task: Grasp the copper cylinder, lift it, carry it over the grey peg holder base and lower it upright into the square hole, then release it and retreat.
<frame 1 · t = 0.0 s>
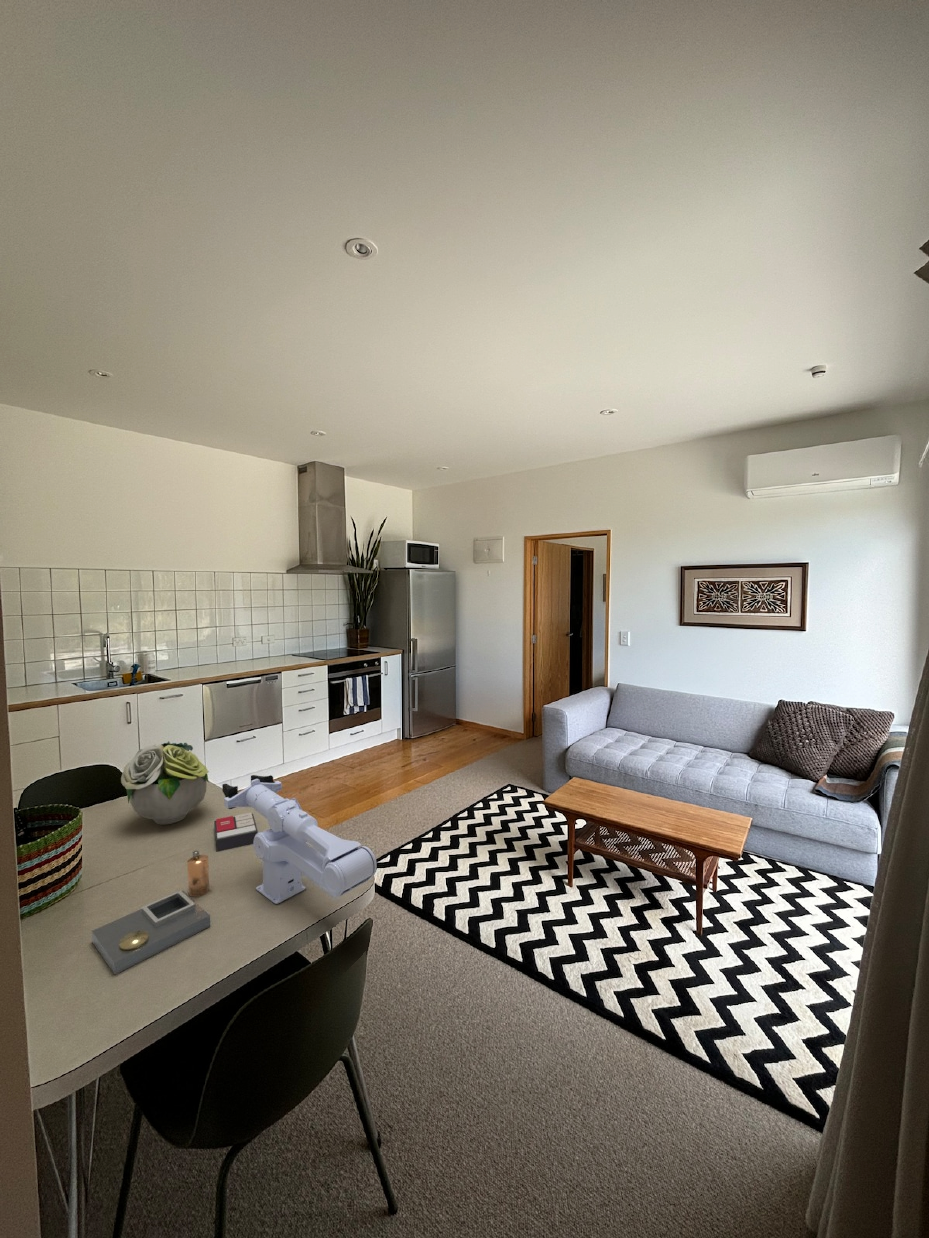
hand: (238, 783, 136), 22 cm above the table, tool horizontal, fingers open, 7 cm apart
grey peg holder base: (169, 920, 114), on the table
flower arrangement: (171, 819, 162), on the table
copper cylinder: (199, 891, 124), on the table
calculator: (235, 837, 152), on the table
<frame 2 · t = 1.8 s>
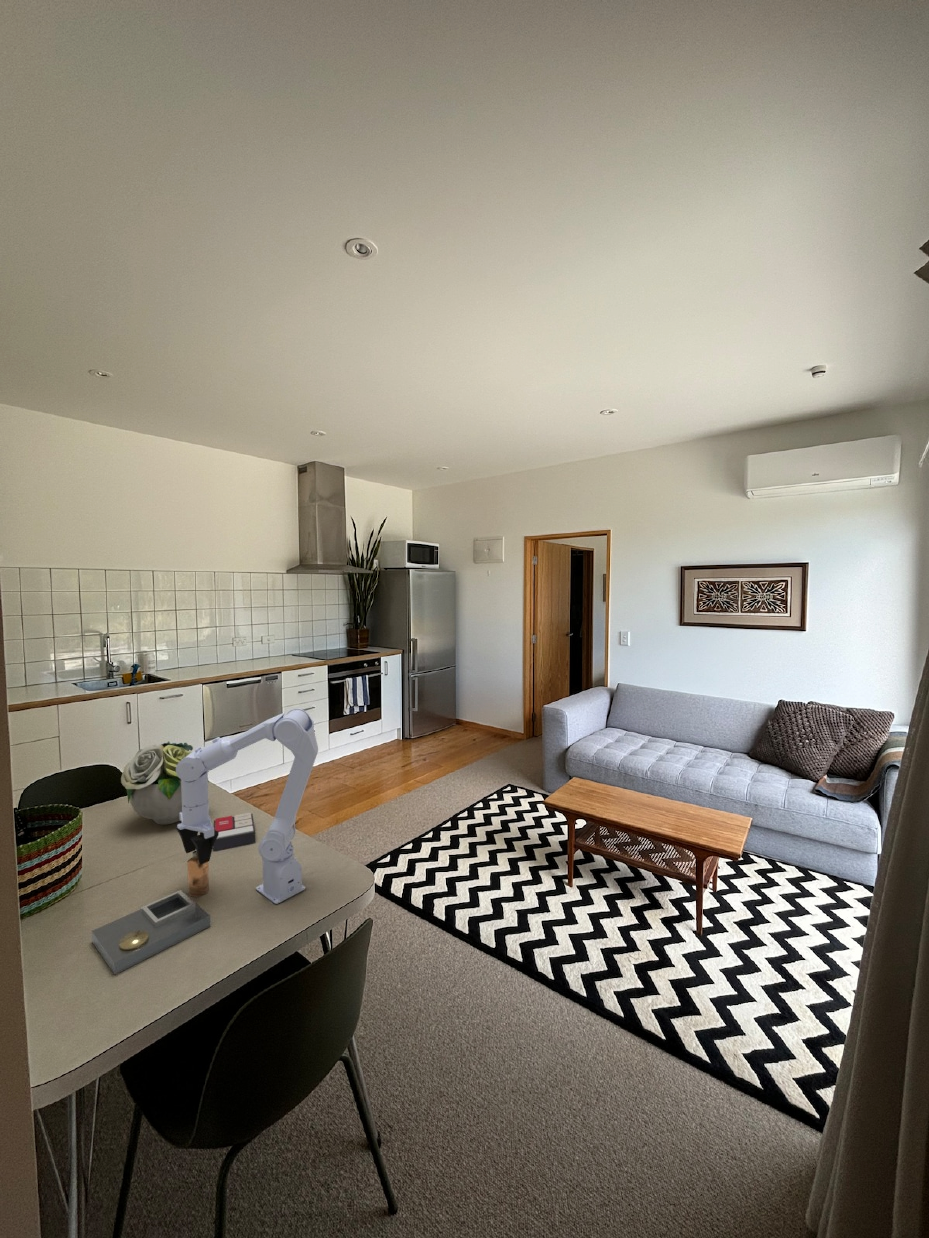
hand: (197, 856, 124), 9 cm above the table, tool pointing down, fingers open, 7 cm apart
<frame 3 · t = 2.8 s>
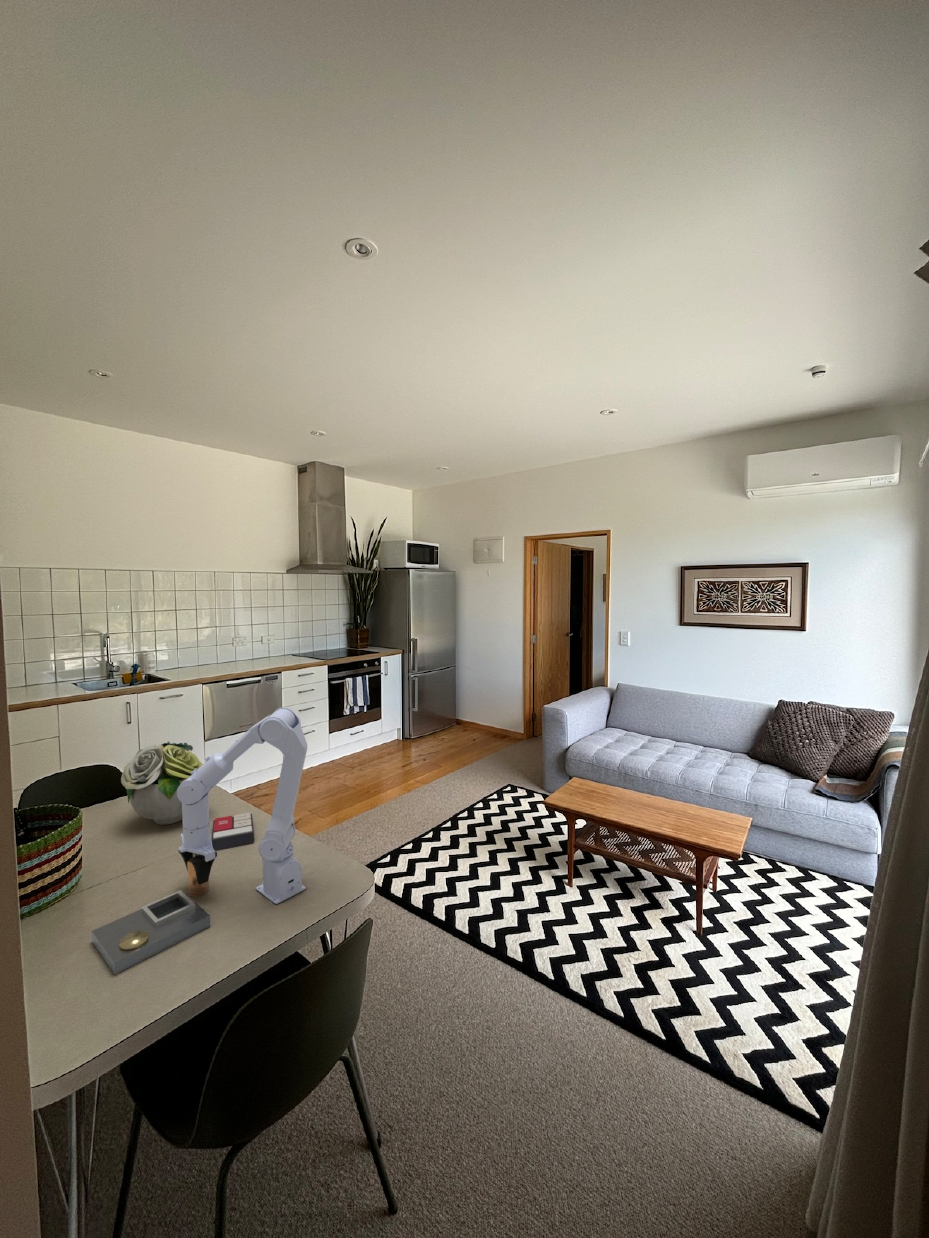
hand: (198, 878, 124), 3 cm above the table, tool pointing down, fingers closed on copper cylinder, 4 cm apart
copper cylinder: (199, 891, 124), on the table, touching gripper
everything else where it was.
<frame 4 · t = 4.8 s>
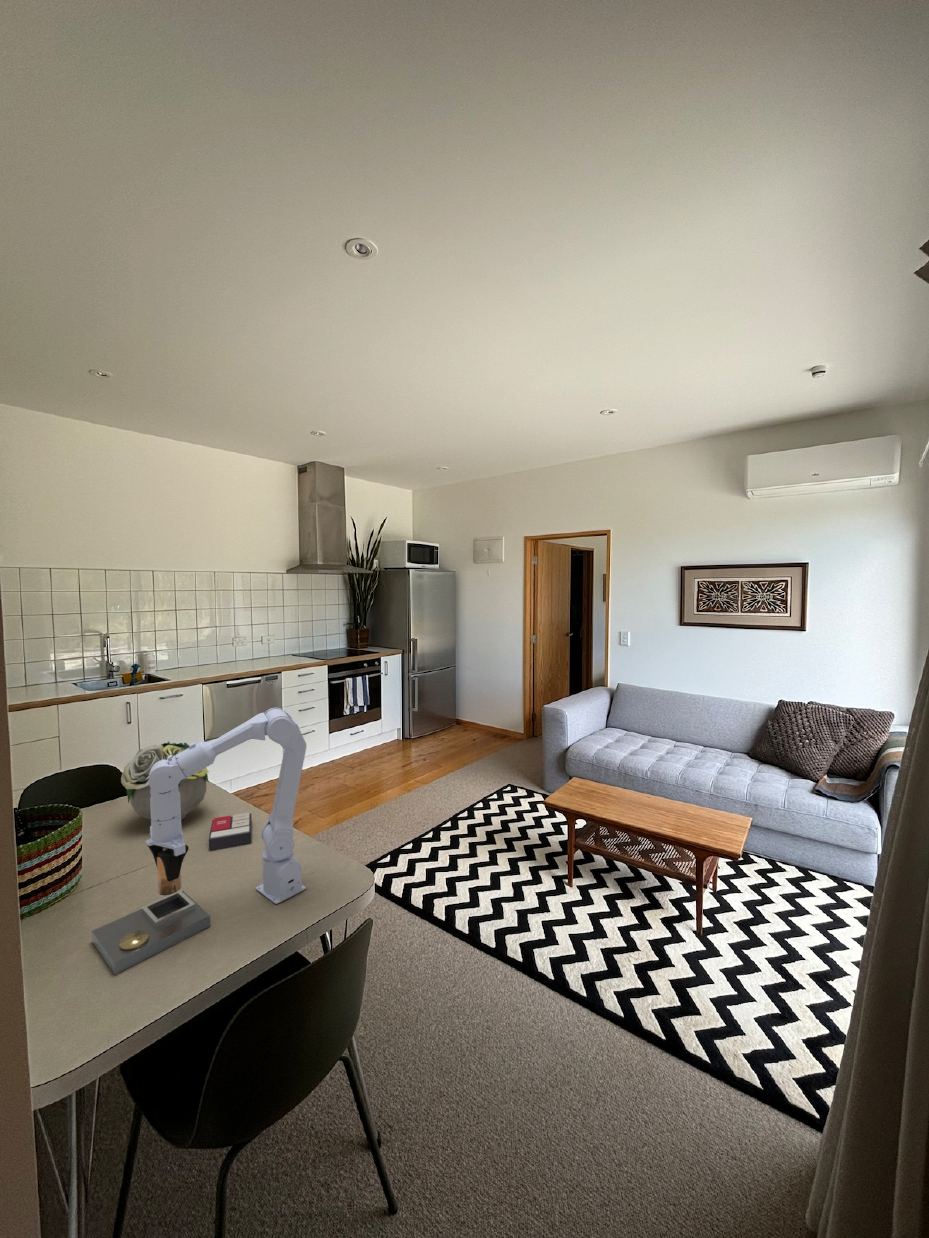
hand: (168, 874, 114), 10 cm above the table, tool pointing down, fingers closed on copper cylinder, 4 cm apart
copper cylinder: (169, 889, 114), point 7 cm above the table, touching gripper
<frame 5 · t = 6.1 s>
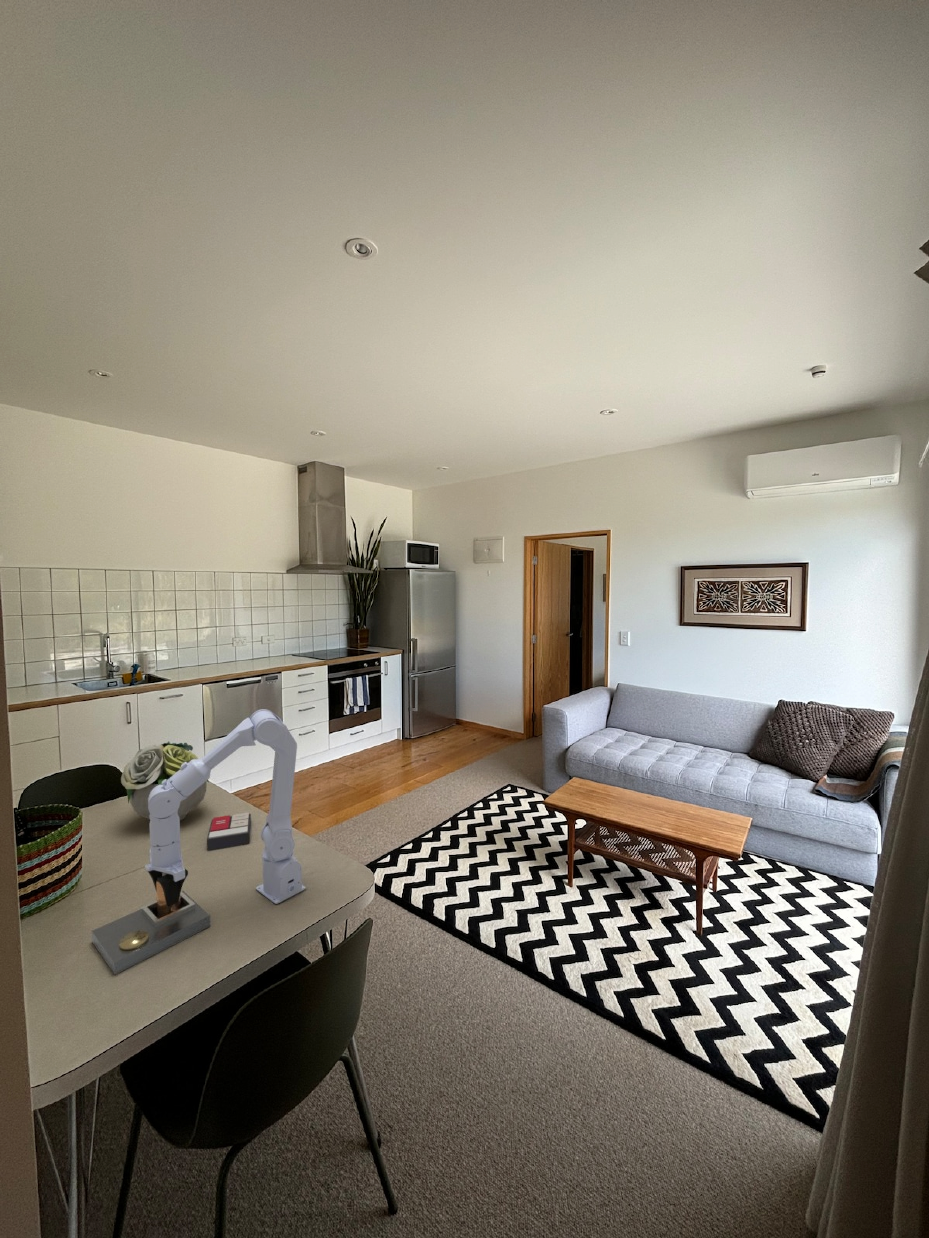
hand: (168, 899, 113), 5 cm above the table, tool pointing down, fingers closed on copper cylinder, 4 cm apart
copper cylinder: (169, 913, 114), point 2 cm above the table, touching gripper
when the fingers open (5 cm above the table, at t = 7.1 s): copper cylinder stays where it is, resting on grey peg holder base.
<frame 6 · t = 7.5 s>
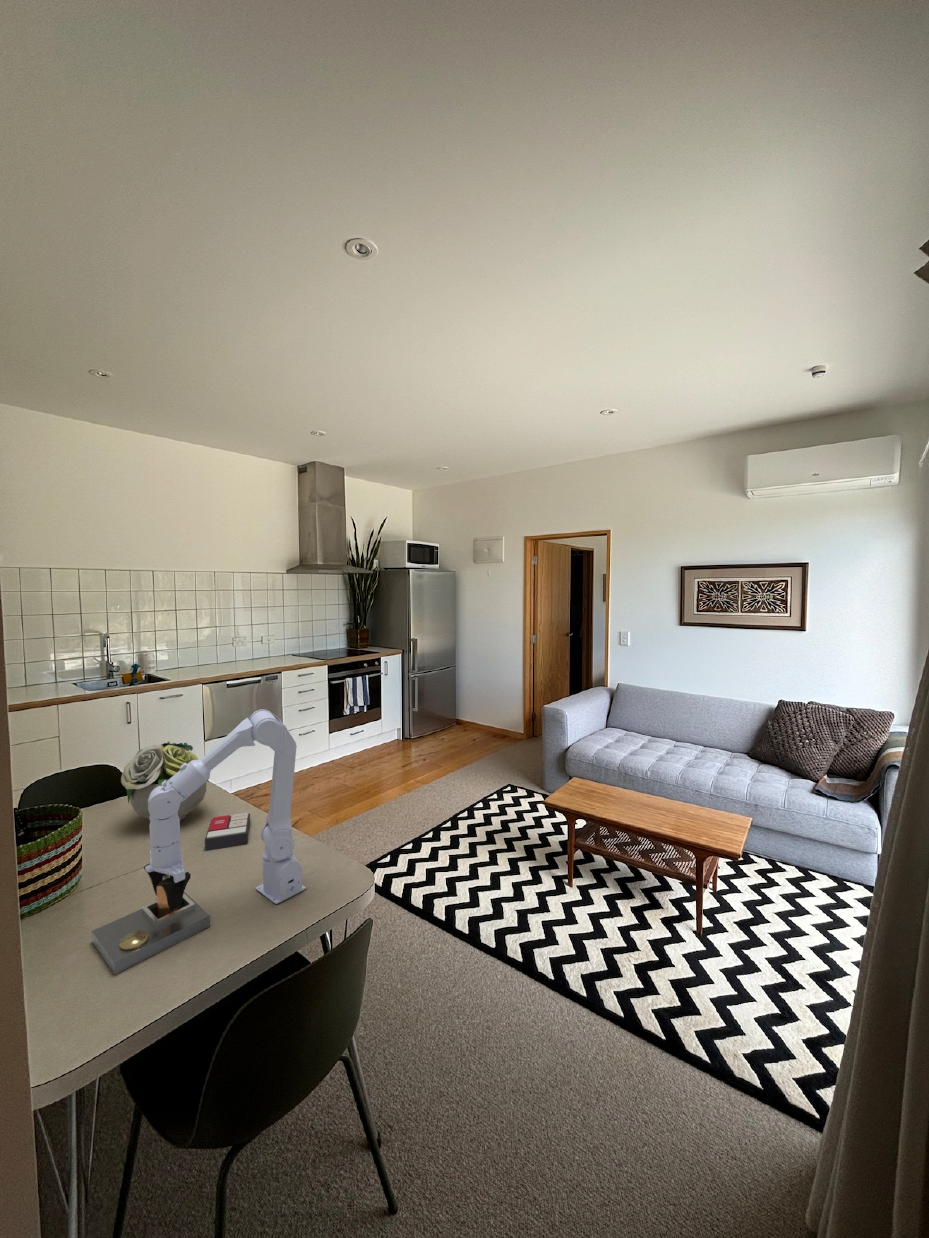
hand: (168, 900, 113), 5 cm above the table, tool pointing down, fingers open, 7 cm apart
copper cylinder: (170, 918, 114), resting on grey peg holder base
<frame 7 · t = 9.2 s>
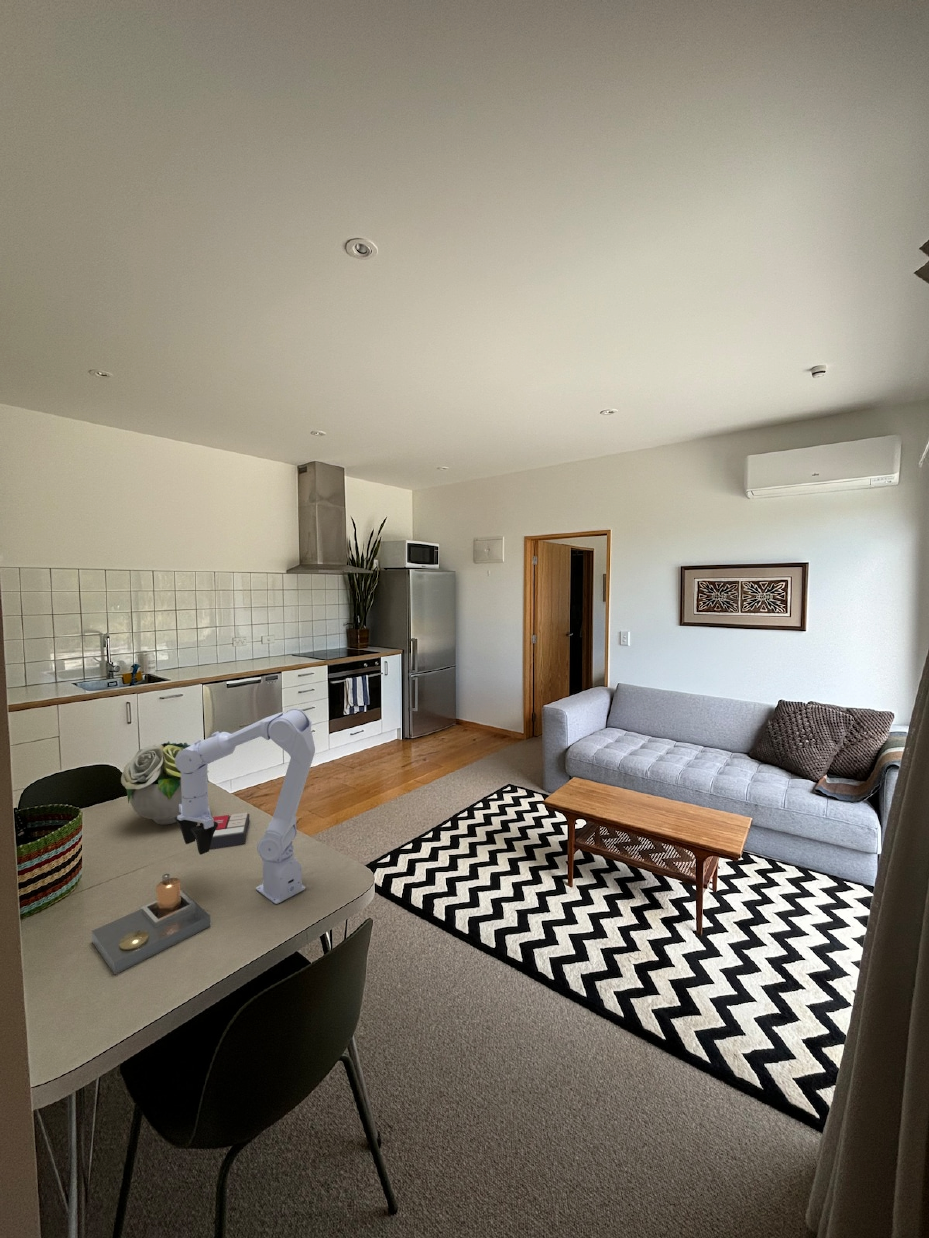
hand: (197, 847, 126), 10 cm above the table, tool pointing down, fingers open, 7 cm apart
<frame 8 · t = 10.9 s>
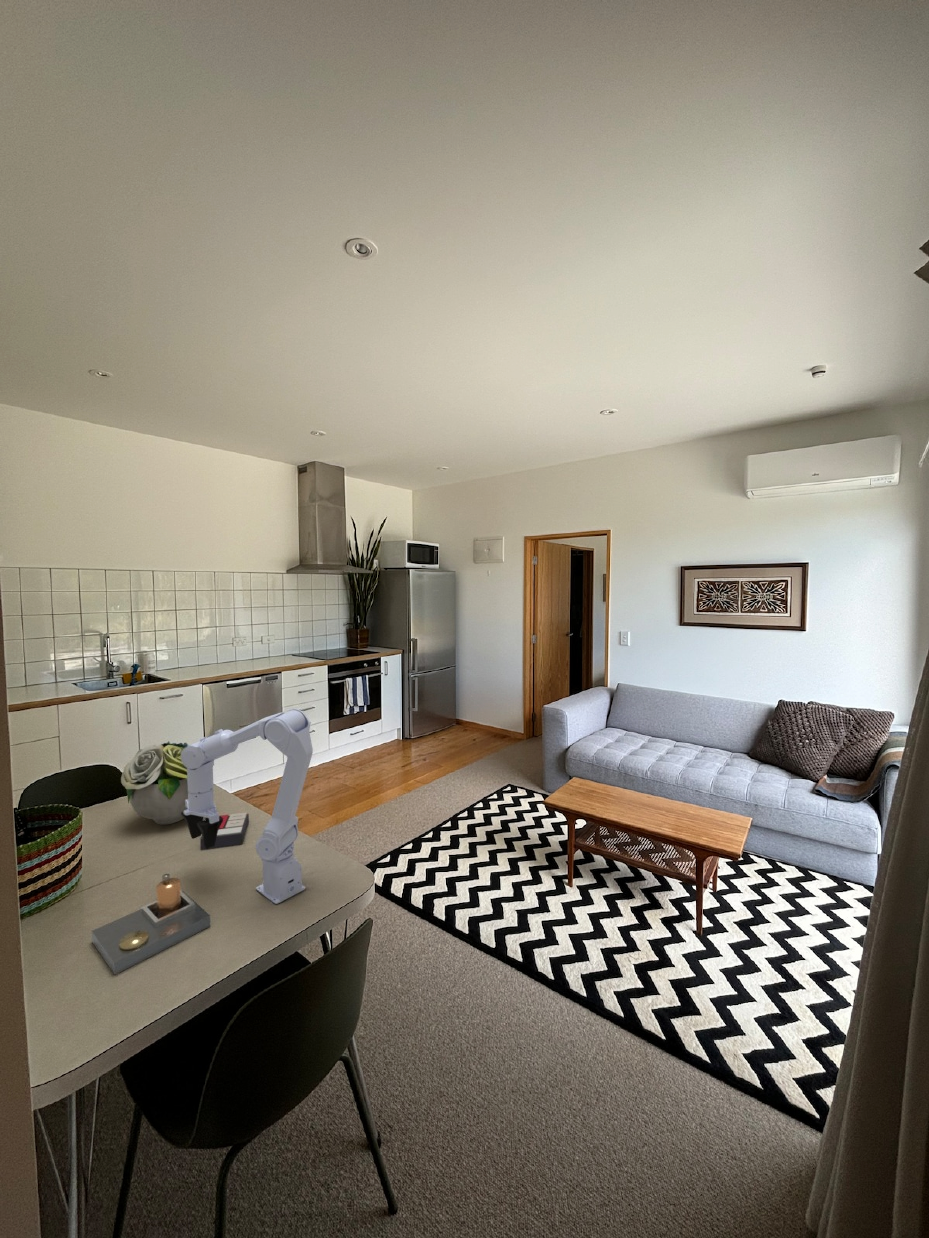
hand: (202, 841, 129), 10 cm above the table, tool pointing down, fingers open, 7 cm apart
at the end: copper cylinder 0.2 cm off-centre on the grey peg holder base, point 0.5 cm above the grey peg holder base's base; copper cylinder tilted 0°; the gripper is holding nothing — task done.
